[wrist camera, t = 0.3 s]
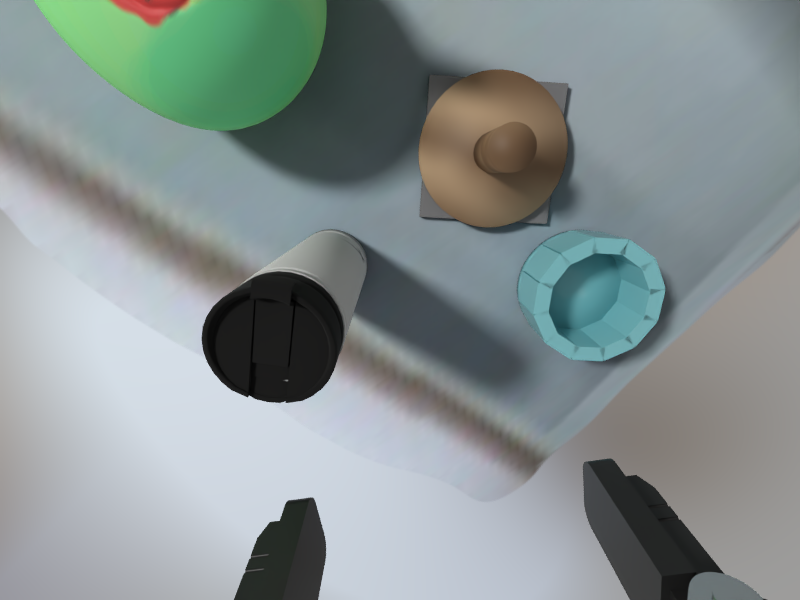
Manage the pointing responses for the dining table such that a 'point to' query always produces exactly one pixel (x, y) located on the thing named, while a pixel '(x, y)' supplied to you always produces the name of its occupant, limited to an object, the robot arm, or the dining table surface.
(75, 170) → the dining table surface
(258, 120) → the toy bird
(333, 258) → the travel mug
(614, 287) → the bowl
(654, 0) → the dining table surface
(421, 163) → the lid
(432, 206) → the mat
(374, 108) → the dining table surface
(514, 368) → the dining table surface
